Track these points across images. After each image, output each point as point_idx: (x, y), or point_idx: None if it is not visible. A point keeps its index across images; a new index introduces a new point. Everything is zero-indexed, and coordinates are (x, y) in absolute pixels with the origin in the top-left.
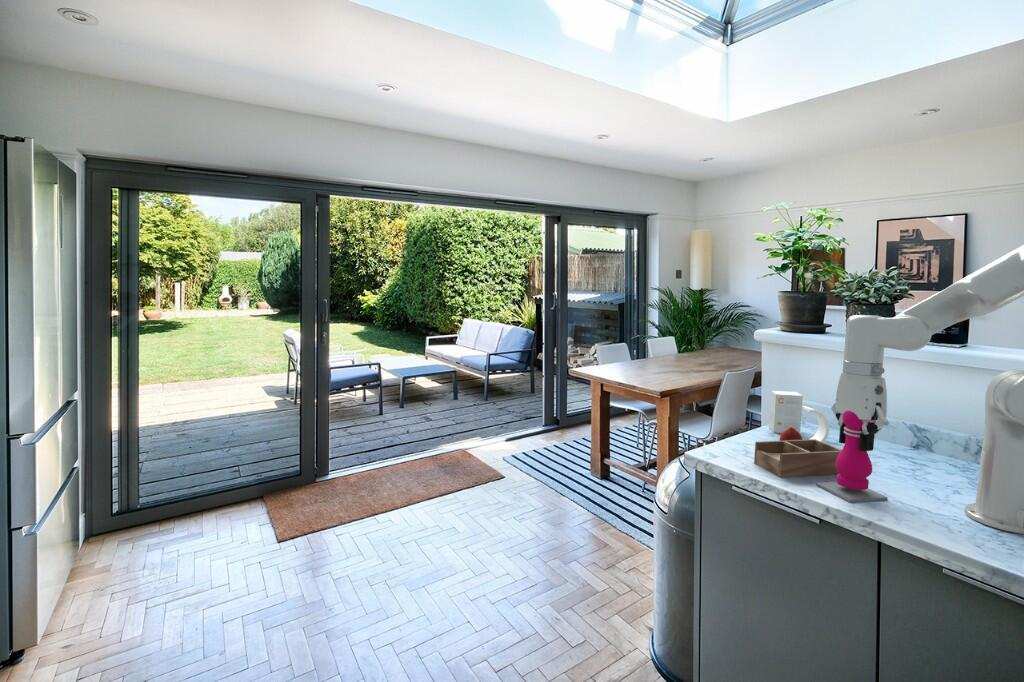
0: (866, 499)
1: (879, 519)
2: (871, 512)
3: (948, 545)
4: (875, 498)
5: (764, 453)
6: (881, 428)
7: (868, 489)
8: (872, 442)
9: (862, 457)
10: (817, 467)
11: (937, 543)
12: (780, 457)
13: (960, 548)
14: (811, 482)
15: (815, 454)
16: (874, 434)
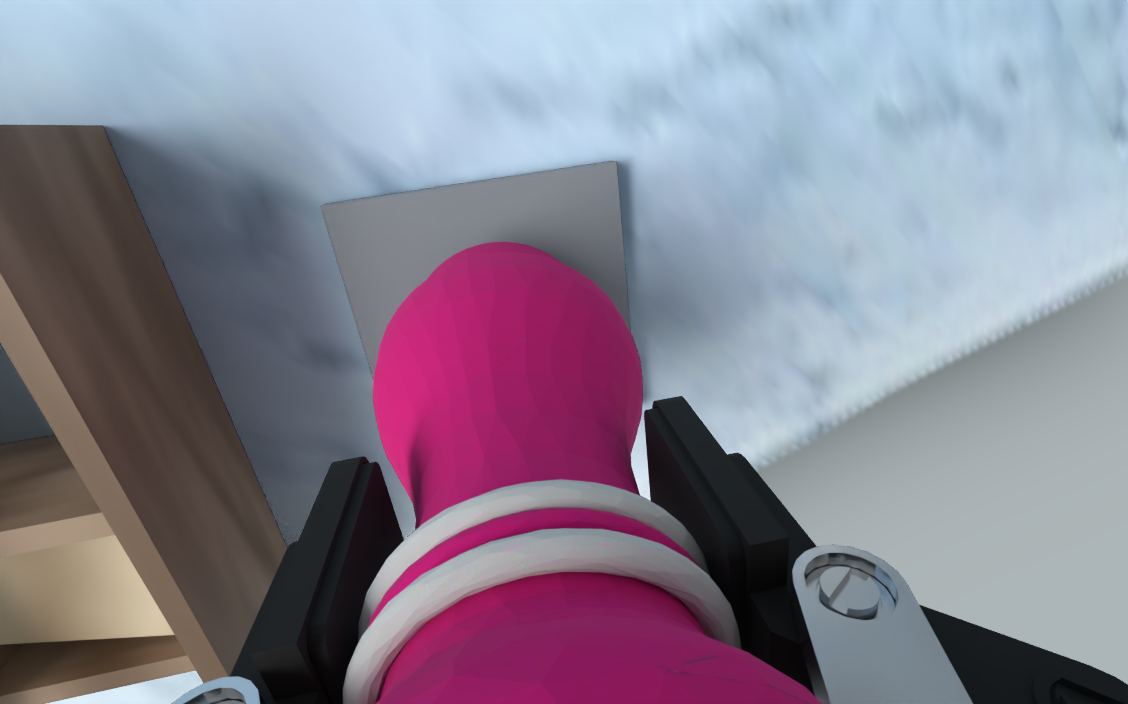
0: (627, 310)
1: (815, 380)
2: (748, 369)
3: (1062, 261)
4: (622, 252)
5: (75, 696)
6: (1118, 685)
7: (487, 198)
8: (765, 498)
9: (634, 440)
10: (175, 388)
11: (1036, 294)
12: None
13: (1095, 231)
14: (352, 451)
15: (128, 473)
16: (777, 523)
